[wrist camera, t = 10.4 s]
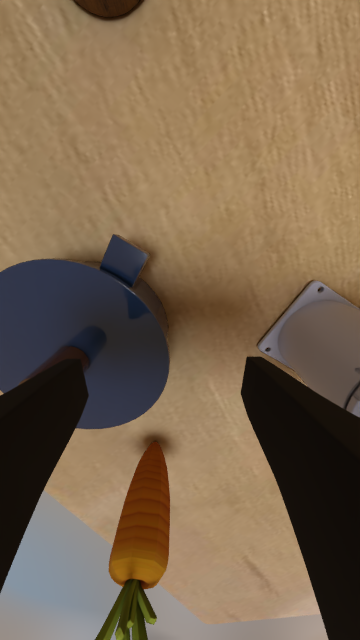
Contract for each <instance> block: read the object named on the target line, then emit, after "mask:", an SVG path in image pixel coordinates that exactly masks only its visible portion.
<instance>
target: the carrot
mask: <svg viewBox="0 0 360 640" xmlns="http://www.w3.org/2000/svg"><path fill="white" fill-rule="evenodd" d="M169 528H170V494H169V481H168V472H167V466H166V462H165V458H164V455H163V452H162V450H161V447H160V445H159V444H158V443H157V442H156V441H155V442H153V443H151V444H150V446H149V447H148V448H147V450H146V451H145V453H144V454H143V456H142V458H141V459H140V461H139V464H138V466H137V469H136V471H135V473H134V476H133V479H132V482H131V484H130V487H129V490H128V493H127V496H126V499H125V502H124V506H123V509H122V513H121V517H120V520H119V524H118V528H117V532H116V536H115V540H114V543H113V548H112V552H111V555H110V561H109V573H110V576H111V578H112V579H113V580H114V582H116V583H117V584H119V585H120V586H122V587H123V588H122V590H121V592H120V594H119V596H118V598H117V600H116V602H115V604H114V606H113V608H112V609H111V611H110V613H109V615H108V617H107V619H106V621H105V623H104V625H103V626H102V628H101V630H100V632H99V634H98V635H97V637H96V639H95V640H110V639H111V636H112V634H113V632H114V629H115V627H116V624H117V622H118V619H119V623H118V626H117V629H116V632H115V636H116V640H130V631H129V628H131V627H132V640H148V638H147V633H146V628H145V620H146V622H147V623H150V624H153V625H154V623H155V622H156V619H157V617H156V615H155V613H154V611H153V608H152V606H151V604H150V602H149V600H148V598H147V596H146V594H145V592H144V589H148V588H153V587H154V586H156V585H157V583H158V582H159V580H160V579H161V577H162V576H163V574H164V572H165V571H166V568H167V564H168V556H169ZM120 614H121V615H120ZM119 617H120V618H119ZM144 618H145V620H144Z"/></svg>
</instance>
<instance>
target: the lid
mask: <svg viewBox="0 0 360 640" xmlns="http://www.w3.org/2000/svg"><path fill="white" fill-rule="evenodd" d="M65 359H81V363H82V367H83V372H84V376H85V381H86V385H87V390H88V394H89V397H88V400H87V403H86V405H85V408H84V411H83V413H82V416H81V418H80V420H79V422H78V424H77V426H76V428H80V429H103V428H110V427H115V426H119V425H122V424H125V423H128V422H130V421H132V420H134V419H136V418H138V417H139V416H141V415H142V414H144V413H145V412H146V411H147V410H149V409H150V408H151V407H152V406H153V405H154V403H155V402H156V401H157V400H158V399H159V397H160V395H161V393H162V392H163V390H164V387H165V385H166V382H167V378H168V374H169V366H170V354H169V346H168V342H167V338H166V335H165V332H164V330H163V327H162V325H161V323H160V321H159V319H158V318H157V316H156V314H155V313H154V311H153V310H152V309H151V307H150V306H149V305H148V303H147V302H146V301H145V300H144V299H143V298H142V297H141V296H140V295H139V294H138V293H137V292H136V291H135V290H134V289H132V288H131V287H130V286H129V285H127V284H126V283H125V282H123V281H122V280H120V279H119V278H117V277H115V276H114V275H112V274H110V273H108V272H106V271H104V270H102V269H100V268H98V267H95V266H92V265H89V264H86V263H83V262H78V261H73V260H68V259H55V258H52V259H37V260H31V261H26V262H22V263H19V264H16V265H13V266H11V267H8V268H6V269H5V270H3V271H1V272H0V390H1V391H2V392H3V393H6V392H8V391H10V390H11V389H13V388H15V387H17V386H18V385H20V384H22V383H24V382H25V381H27V380H29V379H30V378H32V377H34V376H36V375H37V374H39V373H41V372H43V371H44V370H46V369H48V368H49V367H51V366H53V365H55V364H57V363H59V362H61V361H63V360H65Z"/></svg>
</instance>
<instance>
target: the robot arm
mask: <svg viewBox="0 0 360 640" xmlns="http://www.w3.org/2000/svg"><path fill="white" fill-rule="evenodd" d="M319 287H321V290H320V291H318V288H319ZM267 347H269V349H267V350H265V349H266V348H267ZM258 349H259V350H260V351H262V352H263V353H265V354H267V355H269V356H270V357H272V358H274V359H276V360H278V361H279V362H281V363H283V364H285V365H286V366H288V367H290V368H292V369H293V370H294V371H295V372H296V373H297V374H298V375H299V376H300V378H301V379H302V380H303V381H304V382H305V383H306V385H307V386H308V387H307V386H305V385H304V384H302V383H301V382H299V381H298V380H296V379H295V378H293V377H292V376H290V375H289V374H287V373H286V372H284V371H283V370H281V369H280V368H278V367H277V366H275V365H274V364H272V363H270V362H269V361H267V360H266V359H264V358H262V357H247V359H246V365H245V371H244V377H243V383H242V389H241V395H242V399H243V402H244V406H245V409H246V412H247V415H248V418H249V420H250V422H251V424H252V427H253V429H254V431H255V434H256V436H257V438H258V440H259V443H260V445H261V447H262V449H263V452H264V454H265V456H266V458H267V461H268V463H269V465H270V467H271V470H272V472H273V474H274V477H275V479H276V481H277V484H278V486H279V489H280V492H281V495H282V497H283V500H284V503H285V506H286V509H287V512H288V514H289V517H290V520H291V523H292V526H293V529H294V532H295V535H296V538H297V541H298V544H299V547H300V550H301V553H302V556H303V559H304V562H305V565H306V568H307V571H308V574H309V577H310V581H311V584H312V587H313V590H314V593H315V597H316V600H317V603H318V606H319V609H320V613H321V616H322V619H323V622H324V625H325V629H326V632H327V636H328V639H329V640H360V309H359V308H358V307H356V306H355V305H353V304H352V303H350V302H349V301H347V300H346V299H345V298H343V297H342V296H340V295H339V294H337V293H336V292H334V291H333V290H332V289H330V288H329V287H327V286H326V285H324V284H323V283H321V282H320V281H317V280H315V281H312V282H311V283H310V284H309V285H308V286H307V287H306V288H305V289H304V291H303V292H302V293H301V294H300V295H299V296H298V298H297V299H296V300H295V301H294V302H293V304H292V305H291V306H290V307H289V308H288V309H287V311H286V312H285V313H284V314H283V315H282V317H281V318H280V319H279V320H278V321H277V322H276V324H275V325H274V326H273V327H272V328H271V329H270V331H269V332H268V333H267V334H266V335H265V337H264V338H263V339H262V340H261V341H260V342H259V344H258ZM88 397H89V394H88V390H87V385H86V381H85V376H84V372H83V367H82V363H81V359H65V360H63V361H61V362H59V363H57V364H55V365H53V366H51V367H49V368H48V369H46V370H44V371H43V372H41V373H39V374H37V375H36V376H34V377H32V378H30V379H29V380H27V381H25V382H24V383H22V384H20V385H18V386H17V387H15V388H13V389H11V390H10V391H8V392H6V393H4V394H2V395H1V396H0V593H1V590H2V587H3V585H4V582H5V580H6V577H7V575H8V572H9V570H10V567H11V565H12V562H13V560H14V557H15V555H16V553H17V550H18V548H19V545H20V543H21V540H22V538H23V535H24V533H25V531H26V528H27V526H28V524H29V521H30V519H31V517H32V514H33V512H34V510H35V507H36V505H37V503H38V500H39V498H40V496H41V494H42V492H43V490H44V488H45V486H46V484H47V482H48V480H49V478H50V476H51V474H52V472H53V470H54V468H55V466H56V464H57V463H58V461H59V459H60V457H61V455H62V453H63V451H64V449H65V447H66V445H67V444H68V442H69V440H70V438H71V436H72V434H73V432H74V430H75V428H76V426H77V424H78V422H79V420H80V418H81V416H82V413H83V411H84V408H85V405H86V403H87V400H88Z"/></svg>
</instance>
